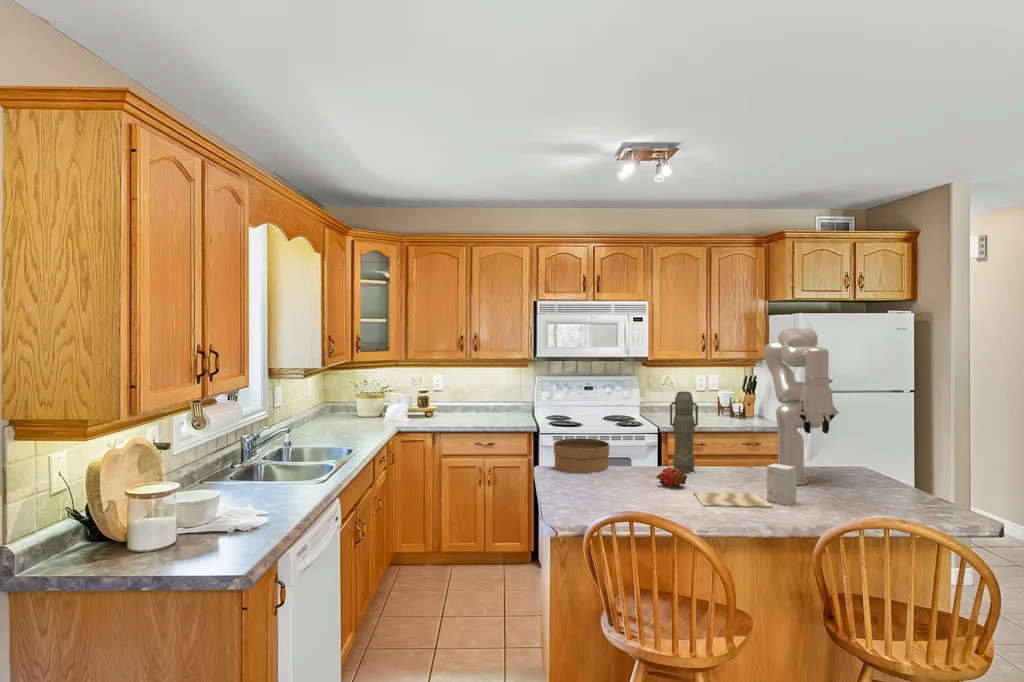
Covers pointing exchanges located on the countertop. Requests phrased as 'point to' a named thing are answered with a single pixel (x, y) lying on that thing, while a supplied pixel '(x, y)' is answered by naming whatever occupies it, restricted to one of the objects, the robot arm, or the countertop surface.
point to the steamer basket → (581, 455)
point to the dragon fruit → (672, 477)
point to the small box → (781, 484)
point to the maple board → (732, 499)
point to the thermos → (684, 431)
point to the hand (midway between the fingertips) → (816, 432)
